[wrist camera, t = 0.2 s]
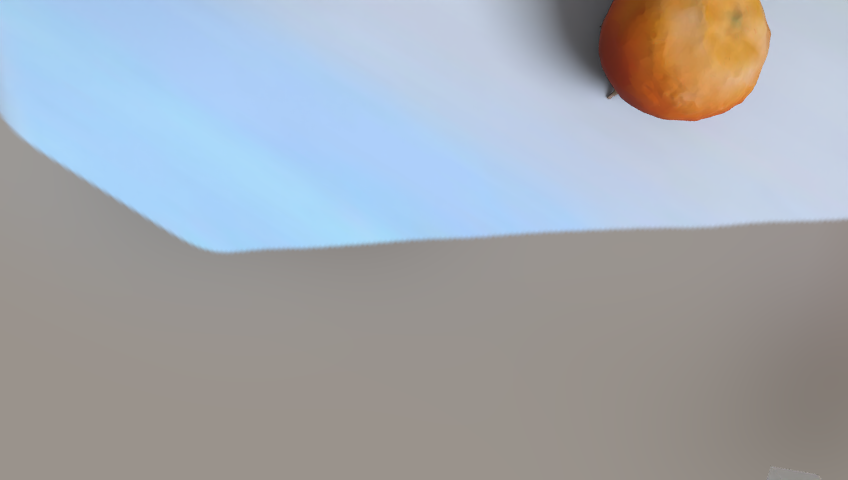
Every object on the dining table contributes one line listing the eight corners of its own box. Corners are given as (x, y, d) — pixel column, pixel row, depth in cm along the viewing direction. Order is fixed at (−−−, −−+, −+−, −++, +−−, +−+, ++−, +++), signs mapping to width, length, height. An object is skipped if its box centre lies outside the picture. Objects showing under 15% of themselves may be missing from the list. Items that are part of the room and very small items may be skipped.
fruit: (537, 6, 34) (653, -52, 27) (643, -28, 37) (773, -87, 30) (582, 153, 35) (703, 136, 28) (680, 109, 38) (812, 83, 31)
